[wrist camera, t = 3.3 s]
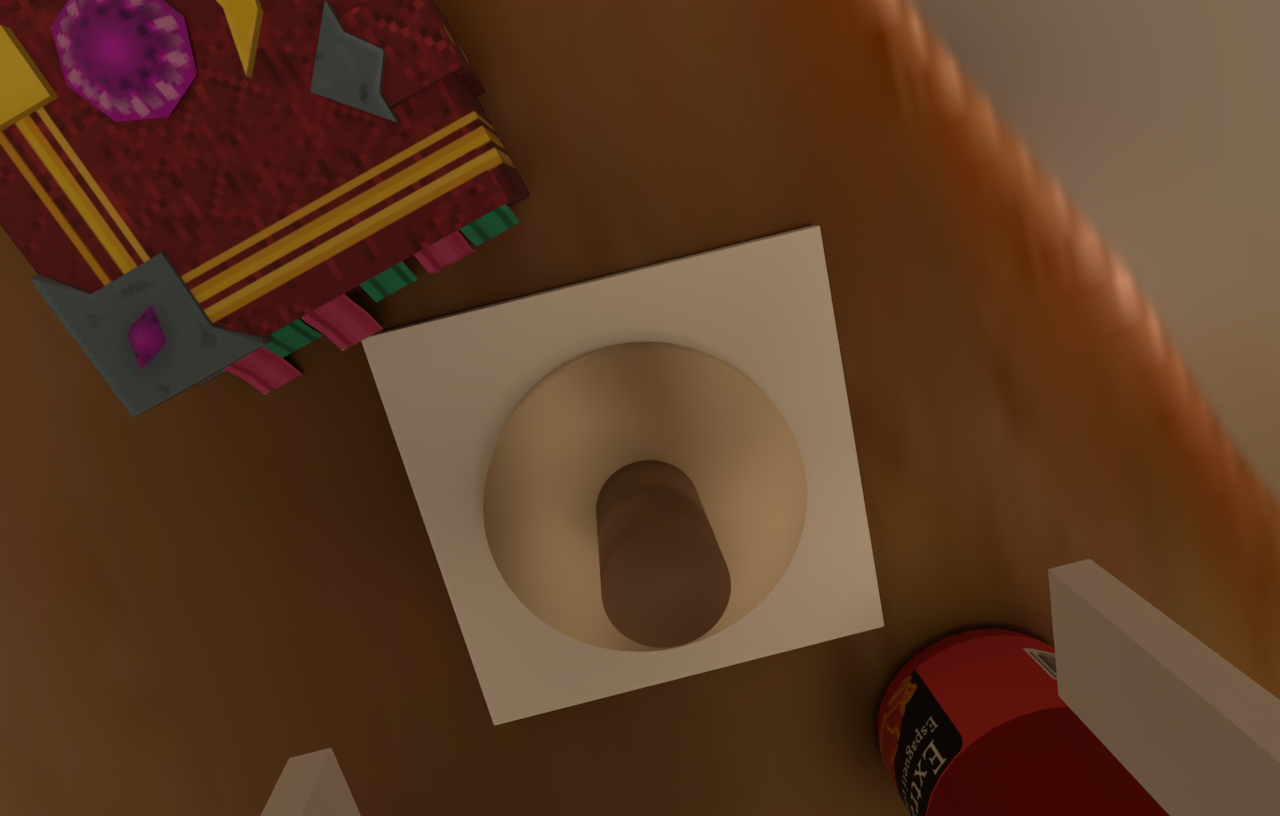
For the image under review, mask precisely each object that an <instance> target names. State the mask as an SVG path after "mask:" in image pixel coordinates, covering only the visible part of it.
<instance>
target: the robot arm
mask: <svg viewBox="0 0 1280 816" xmlns="http://www.w3.org/2000/svg"><path fill="white" fill-rule="evenodd" d="M1048 573H1049V585H1050V597H1051V610H1052V622H1053V634H1054V647H1055V659H1056V671H1057V684H1058V696H1059V697H1060V698H1061V699H1062V700H1063V701H1064V702H1065V703H1066V704H1067V705H1068V706H1069V708H1070V709H1071V710H1072V711H1073V712H1074V713H1075V714H1076V715H1077V716H1078V717H1079V718H1080V719H1081V721H1082V722H1083V723H1084V724H1085V725H1086V726H1087V727H1088V728H1089V729H1090V730H1091V731H1092V732H1093V733H1094V735H1095V736H1096V737H1097V738H1098V739H1099V740H1100V741H1101V742H1102V743H1103V744H1104V745H1105V746H1106V747H1107V749H1108V750H1109V751H1110V752H1111V753H1112V754H1113V755H1114V756H1115V757H1116V758H1117V759H1118V760H1119V761H1120V763H1121V764H1122V765H1123V766H1124V767H1125V768H1126V769H1127V770H1128V771H1129V772H1130V773H1131V774H1132V775H1133V777H1134V778H1135V779H1136V780H1137V781H1138V782H1139V783H1140V784H1141V785H1142V786H1143V787H1144V788H1145V790H1146V791H1147V792H1148V793H1149V794H1150V795H1151V796H1152V797H1153V798H1154V799H1155V800H1156V801H1157V802H1158V804H1159V805H1160V806H1161V807H1162V808H1163V809H1164V810H1165V811H1166V812H1167V813H1168V814H1169V815H1170V816H1280V700H1279V699H1277V698H1276V697H1274V696H1273V695H1272V694H1270V693H1269V692H1268V691H1266V690H1265V689H1264V688H1262V687H1261V686H1260V685H1258V684H1257V683H1256V682H1254V681H1253V680H1252V679H1250V678H1249V677H1248V676H1246V675H1245V674H1244V673H1242V672H1241V671H1240V670H1238V669H1237V668H1236V667H1234V666H1233V665H1232V664H1230V663H1229V662H1228V661H1226V660H1225V659H1223V658H1222V657H1221V656H1219V655H1218V654H1217V653H1215V652H1214V651H1213V650H1211V649H1210V648H1209V647H1207V646H1206V645H1205V644H1203V643H1202V642H1201V641H1199V640H1198V639H1197V638H1195V637H1194V636H1193V635H1191V634H1190V633H1189V632H1187V631H1186V630H1185V629H1183V628H1182V627H1181V626H1179V625H1178V624H1177V623H1175V622H1174V621H1172V620H1171V619H1170V618H1168V617H1167V616H1166V615H1164V614H1163V613H1162V612H1160V611H1159V610H1158V609H1156V608H1155V607H1154V606H1152V605H1151V604H1150V603H1148V602H1147V601H1146V600H1144V599H1143V598H1142V597H1140V596H1139V595H1138V594H1136V593H1135V592H1134V591H1132V590H1131V589H1130V588H1128V587H1127V586H1126V585H1124V584H1123V583H1121V582H1120V581H1119V580H1117V579H1116V578H1115V577H1113V576H1112V575H1111V574H1109V573H1108V572H1107V571H1105V570H1104V569H1103V568H1101V567H1100V566H1099V565H1097V564H1096V563H1095V562H1093V561H1092V560H1091V559H1087V560H1083V561H1079V562H1075V563H1071V564H1067V565H1063V566H1059V567H1055V568H1051V569H1048ZM261 816H361V815H360V813H359V810H358V808H357V806H356V804H355V801H354V799H353V797H352V794H351V792H350V790H349V787H348V785H347V783H346V780H345V778H344V776H343V773H342V771H341V769H340V767H339V764H338V762H337V760H336V757H335V755H334V753H333V750H332V748H328V749H324V750H320V751H316V752H312V753H308V754H304V755H300V756H296V757H292V758H289V760H288V762H287V764H286V766H285V768H284V770H283V772H282V774H281V776H280V778H279V780H278V782H277V784H276V786H275V788H274V790H273V792H272V794H271V796H270V798H269V800H268V802H267V804H266V806H265V808H264V810H263V812H262V814H261Z"/></svg>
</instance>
